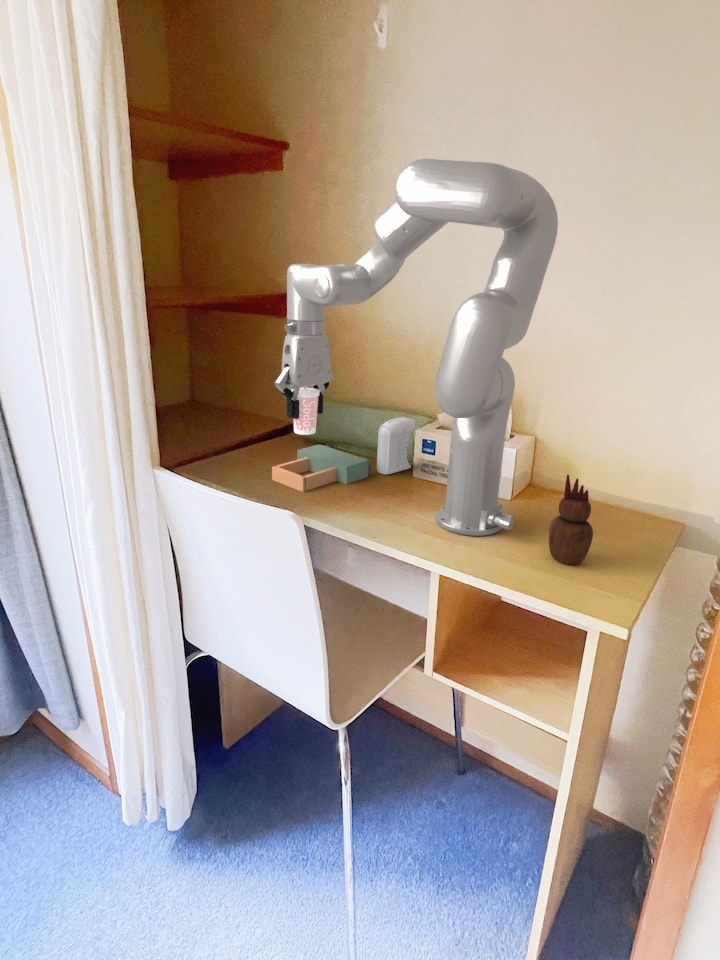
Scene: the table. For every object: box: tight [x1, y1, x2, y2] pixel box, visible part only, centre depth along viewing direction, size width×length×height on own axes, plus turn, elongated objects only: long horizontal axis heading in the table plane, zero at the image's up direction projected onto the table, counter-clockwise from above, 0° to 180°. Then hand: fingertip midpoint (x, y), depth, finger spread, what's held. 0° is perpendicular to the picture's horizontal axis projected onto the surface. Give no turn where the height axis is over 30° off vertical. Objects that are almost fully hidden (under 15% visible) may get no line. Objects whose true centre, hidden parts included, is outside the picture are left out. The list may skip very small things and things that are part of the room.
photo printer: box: [376, 416, 416, 475], centre depth 142 cm, size 10×4×12 cm, turn 134°
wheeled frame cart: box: [271, 443, 372, 493], centre depth 138 cm, size 16×18×4 cm
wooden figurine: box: [548, 474, 594, 566], centre depth 101 cm, size 7×6×15 cm
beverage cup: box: [292, 387, 320, 436], centre depth 130 cm, size 6×6×14 cm
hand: (305, 414), depth 131 cm, fingers closed on beverage cup, 6 cm apart
